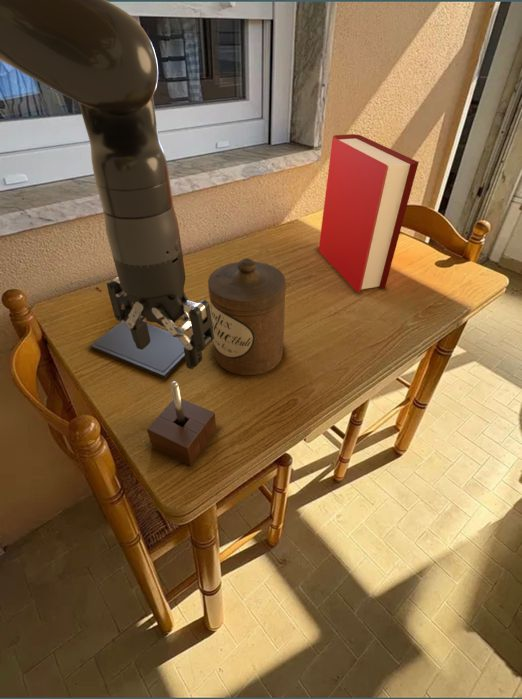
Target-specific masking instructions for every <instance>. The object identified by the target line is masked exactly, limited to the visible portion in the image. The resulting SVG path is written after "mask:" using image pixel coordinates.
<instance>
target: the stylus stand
mask: <svg viewBox="0 0 522 699" xmlns="http://www.w3.org/2000/svg"><path fill="white" fill-rule="evenodd" d="M181 401H182V406H183V411H184V417H185V422H186V424H185V425H184V426H183V427H181V426H179V425H178V421H177V416H176V411H175V406H174V401H173V399H172V400H171V402H170V403H168V404H167V406H166V407H165V408H164V409H163V410H162V411H161V412H160V413H159V415H158V416H157V417H156V418H155V419H154V421H152V422H151V424H150V425H149V426H148V427H146V431H147V434H148V438H149V442H150V444H151V447H152V448H153V449H155V450H157V451H159V452H161V453H163V454H166V455H168V456H170V457H171V458H173V459H176V460H178V461H179V462H181V463H183V464H186V465H188V466H190V467H191V466H192V465H193V464H194V462H195V461H196V460H197V458H198V457H199V455H200V454H201V453H202V451H204V449H205V447H206V446H207V444H208V443H209V442H210V440H211V439H212V438H213V436H214V435H215V434H216V432H217V422H216V412H214V411H213V410H210V409H207V408H206V407H202V406H200V405H199V404H198V405H197V404H196V403H193V402H190V401H189V400H186V399H183V398H181Z"/></svg>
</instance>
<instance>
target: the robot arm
mask: <svg viewBox="0 0 522 699" xmlns="http://www.w3.org/2000/svg"><path fill="white" fill-rule="evenodd" d="M0 62H2V63H5V64H7V65H9V66H11V67H12V68H14V69H15V70H17V71H19V72H21V73H22V74H24V75H26V76H28V77H30V78H32V79H33V80H35V81H37V82H39V83H41V84H42V85H44V86H46V87H48V88H50V90H53V91H55V92H57V93H58V94H61V95H63V96H64V97H67V98H69V99H71V100H73V101H75V102H76V103H78V106H79V109H80V114H81V116H82V119H83V124H84V126H85V130H86V133H87V137H88V140H89V145H90V157H91V165H92V171H93V176H94V181H95V184H96V188H97V192H98V196H99V200H100V203H101V204H100V205H101V207H102V212H103V217H104V225H105V233H106V236H107V241H108V244H109V248H110V251H111V255H112V259H113V262H114V266H115V270H116V274H117V276H116V277H114V278H113V279H111V280H110V281H109V282H107V283H106V288H107V292H108V296H109V299H110V300H109V301H110V303H111V308H112V313H113V316H114V319H115V320H116V321H118V322H122V321H123V320H124V321H125V322H126V325H127V327H129V328H130V330H131V333H132V337H133V341H134V342H135V344H136V347H137V348H138V349H141V350H142V349H144V348H145V347H146V346H147V345H148V344H149V343H150V336H149V331H148V327H147V324H148V323H147V322H150V323H155V324H157V325H160V326H161V327H163V328H165V329H166V331H169V332H170V334H171V335H172V336H173V337H177V338H178V339H179V340H180V341H181V343H182V344H183V345H184V347H185V348H184V353H185V359H184V360H185V366H186V368H187V369H189V370H194V369H195V368H196V367H197V366H198V365H199V364H200V363H201V362H202V361H203V351H204V350H205V349H206V348H207V346H208V345H209V344H210V343H211V342H213V339H214V333H213V327H212V320H211V306H210V302H208V300H206V299H201V300H200V301H199V302H195V301H192V300H189V299H188V296H187V295H186V293H185V283H186V270H185V263H184V256H183V255H184V254H183V248H182V241H181V233H180V227H179V222H178V217H177V215H176V210H175V206H174V202H173V194H172V188H171V187H172V186H171V180H170V171H169V166H168V162H167V159H166V158H167V157H166V155H165V151H164V149H163V146H162V143H161V142H160V136H159V134H158V133H159V131H158V124H157V116H156V108H155V101H154V95H155V92H156V90H157V86H158V80H159V66H158V59H157V55H156V52H155V48H154V46H153V43H152V41H151V39H150V37H149V36H148V34H147V32H146V31H145V29H144V28H143V27H142V26H141V25H140V23H139V22H138V21H137V20H136V19H135V18H134V17H133V16H132V15H131V14H130V13H128V12H127V11H126V10H124V9H122V8H121V7H119V6H117V5H116V4H114V3H112V2H110V1H108V0H0ZM122 306H123V307H122ZM180 318H181V319H182V323H181V324H180V325H179V326H178V325H176V324H175V323H177V322H178V321H179V320H180ZM186 331H188V333H189V334H190V337H189V336H188V335H187V334H186Z"/></svg>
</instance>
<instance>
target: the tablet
mask: <svg viewBox="0 0 522 699" xmlns="http://www.w3.org/2000/svg"><path fill="white" fill-rule="evenodd" d="M147 327H148V331H149V336H150V343H149V344H148V345H147V346H146V347H145V348H144V349H142V350H141V349H138V348H137V347H136V344H135V342H134V341H133V337H132V333H131V330H130V328H129V327H127V325H126V322H125V321H124V320H121V321H119V323H118V324H117V325H115V326H113V327H112V328H111V329H110V330H108V331H107V332H106V333H104V334H103V335H102V336H100V337H99V338H98V339H96V340H95V341H94V342H92V343H91V344H90V345H89V347H90V349H91V350H94V351H96V352H99V353H100V354H104V355H106V356H108V357H111V358H113V359H116V360H118V361H121V362H122V363H125V364H127V365H130V366H132V367H135V368H136V369H140V370H143V371H145V372H147V373H149V374H151V375H155V376H156V377H160V378H162V379H164V380H165V379H167V378H168V377H169V375H170V374H172V373H173V371H174V370H176V368H177V367H178V366H179V365H180V364H181V363H182V362H184V360H185V353H184V348H185V347H184V345H183V344H182V343H181V341H180V340H179V339H178V338H177V337H173V336H172V335H171V334H170V332H169V331H168V330H167V329H163V328H160V327H158V326H155V325H152V324H149V323H147Z"/></svg>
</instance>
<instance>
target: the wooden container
mask: <svg viewBox="0 0 522 699" xmlns="http://www.w3.org/2000/svg"><path fill="white" fill-rule="evenodd" d="M286 284H287V283H286V276H285V275H284V273H283V272H282V271H281V270H280V269H278V268H277V267H275V266H273V265H270V264H268V263H263V262H260V261H254V259H251V258H249V257H248V258H243V259H241V260H240V261H236V262H231V263H227V264H224V265H222V266H219V267H217V268H216V269H214V270H213V271H212V272H211V273H210V275H209V276H208V279H207V287H208V296H209V306H210V313H211V320H212V327H213V333H214V339H213V340H212V342H213V352H214V358H215V360H216V362H217V363H218V365H219V366H221V368H222V369H225V370H226V371H228V372H229V373H233V374H235V375H241V376H256V375H261V374H264V373H266V372H269V371H271V370H272V369H274V368H275V367H276V366H278V364H279V363H281V362H280V361H281V360H282V358H283V352H284V351H283V350H284V335H285V308H286V305H285V304H286V290H287V289H286Z"/></svg>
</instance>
